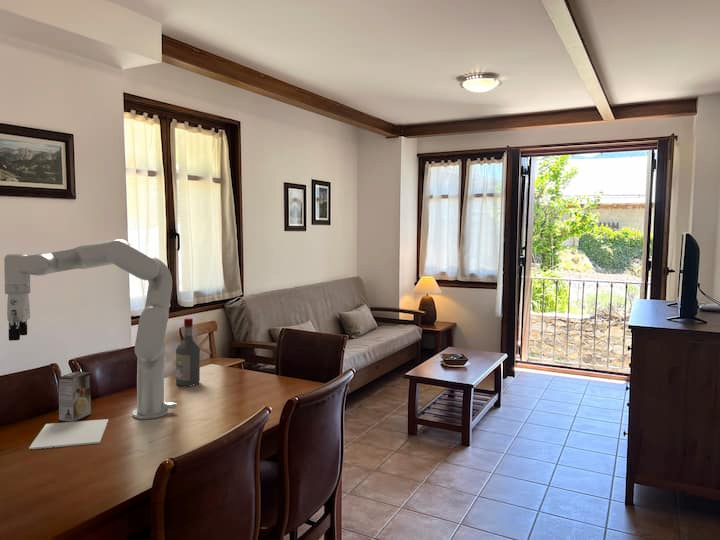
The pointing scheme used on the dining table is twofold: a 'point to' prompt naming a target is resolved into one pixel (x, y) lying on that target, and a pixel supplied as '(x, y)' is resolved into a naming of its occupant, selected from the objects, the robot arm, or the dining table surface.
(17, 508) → the dining table surface
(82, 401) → the coffee box
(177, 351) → the liquor
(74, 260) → the robot arm
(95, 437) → the mat
